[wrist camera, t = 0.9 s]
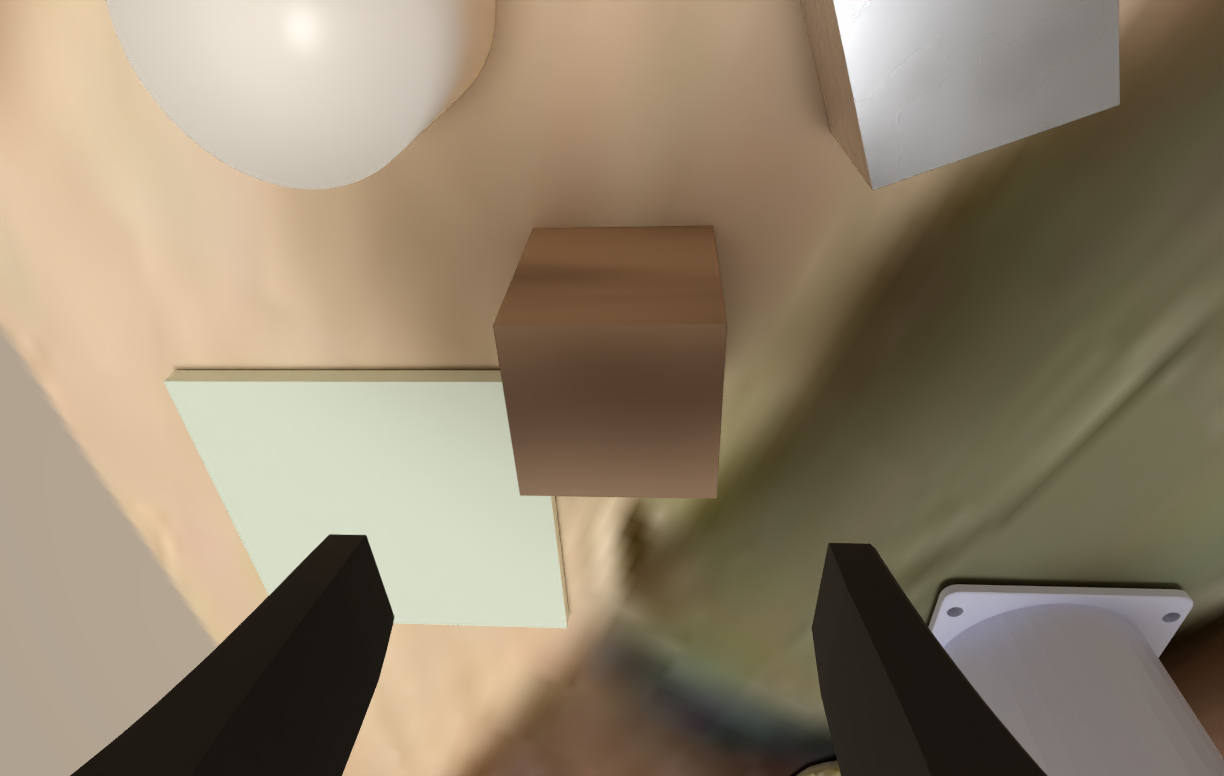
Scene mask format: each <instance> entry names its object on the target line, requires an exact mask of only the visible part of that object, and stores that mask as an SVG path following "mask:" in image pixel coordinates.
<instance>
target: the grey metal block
mask: <svg viewBox="0 0 1224 776" xmlns="http://www.w3.org/2000/svg"><path fill="white" fill-rule="evenodd" d="M800 1H801V6H802V10H803V14H804V19H805V23H806V27H807V32H808V36H809V40H810V45H811V49H812V53H813V58H814V62H815V66H816V71H817V75H818V80H819V84H820V88H821V93H822V97H823V101H824V106H825V110H826V114H827V119H828V123H829V127H830V132H831V133H832V135H833V136H834V137H835V139H836V140H837V142H838V143H839V144H840V146H841V147H842V149H843V150H844V151H845V153H846V154H847V155H848V157H849V158H850V160H851V161H852V162H853V164H854V165H855V167H856V168H857V169H858V171H859V172H860V173H861V175H862V176H863V178H864V179H865V180H866V182H867V183H868V184H869V186H870V187H871V189H872V190H875V189H878V188H881V187H884V186H887V185H890V184H893V183H895V182H898V181H901V180H904V179H907V178H910V177H913V176H916V175H918V174H921V173H924V172H927V171H930V170H933V169H936V168H939V167H941V166H944V165H947V164H950V163H953V162H956V161H959V160H962V159H965V158H967V157H970V156H973V155H976V154H979V153H982V152H985V151H988V150H990V149H993V148H996V147H999V146H1002V145H1005V144H1008V143H1011V142H1014V141H1016V140H1019V139H1022V138H1025V137H1028V136H1031V135H1034V134H1037V133H1039V132H1042V131H1045V130H1048V129H1051V128H1054V127H1057V126H1060V125H1062V124H1065V123H1068V122H1071V121H1074V120H1077V119H1080V118H1083V117H1086V116H1088V115H1091V114H1094V113H1097V112H1100V111H1103V110H1106V109H1109V108H1111V107H1114V106H1117V105H1120V85H1119V0H800Z"/></svg>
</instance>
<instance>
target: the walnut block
mask: <svg viewBox="0 0 1224 776" xmlns="http://www.w3.org/2000/svg"><path fill="white" fill-rule="evenodd" d="M493 328H494V335H495V341H496V347H497V353H498V360H499V366H500V372H501V379H502V385H503V391H504V398H505V404H506V410H507V417H508V423H509V429H510V435H511V442H512V448H513V454H514V461H515V467H516V473H517V480H518V486H519V492H520V496H583V497H649V498H716V499H717V483H718V466H719V450H720V433H721V416H722V399H723V382H724V366H725V349H726V332H727V321H726V314H725V307H724V300H723V293H722V286H721V279H720V272H719V265H718V258H717V251H716V244H715V237H714V230H713V226H658V227H595V228H533V230H532V232H531V235H530V237H529V240H528V242H527V245H526V247H525V249H524V252H523V254H522V257H521V259H520V261H519V264H518V266H517V269H516V271H515V274H514V276H513V278H512V281H511V283H510V286H509V288H508V290H507V293H506V295H505V298H504V300H503V303H502V305H501V307H500V310H499V312H498V315H497V317H496V319H495V322H494V324H493Z"/></svg>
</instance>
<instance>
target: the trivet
mask: <svg viewBox="0 0 1224 776" xmlns="http://www.w3.org/2000/svg"><path fill="white" fill-rule="evenodd" d="M164 383H165V385H166V387H167V389H168V391H169V394H170V396H171V398H172V400H173V402H174V404H175V406H176V408H177V410H178V412H179V414H180V416H181V418H182V420H183V422H184V424H185V426H186V428H187V430H188V432H189V434H190V436H191V438H192V440H193V442H194V444H195V446H196V448H197V450H198V452H199V454H200V457H201V459H202V461H203V463H204V465H205V467H206V469H207V471H208V473H209V475H210V477H211V479H212V481H213V483H214V485H215V487H216V489H217V491H218V493H219V495H220V497H221V499H222V501H223V503H224V505H225V507H226V509H227V511H228V513H229V515H230V518H231V520H232V522H233V524H234V526H235V528H236V530H237V532H238V534H239V536H240V538H241V540H242V542H243V544H244V546H245V548H246V550H247V552H248V554H249V556H250V558H251V560H252V562H253V564H254V566H255V568H256V570H257V572H258V574H259V576H260V578H261V581H262V583H263V585H264V587H265V589H266V591H267V593H268V595H270V594H271V593H272V592H273V591H274V590H275V589H276V588H277V587H278V586H279V585H280V584H281V583H282V582H283V581H284V580H285V579H286V578H287V577H288V576H289V575H290V574H291V573H292V571H293V570H294V569H295V568H296V567H297V566H298V565H299V564H300V563H301V562H302V561H303V560H304V559H305V558H306V557H307V556H308V555H309V554H310V553H311V552H312V551H313V550H314V549H315V548H316V547H317V546H318V545H319V544H320V543H321V542H322V541H323V540H324V539H325V538H326V537H327V536H328V535H329V534H341V535H366V536H367V538H368V541H369V544H370V547H371V550H372V553H373V556H374V559H375V562H376V564H377V567H378V570H379V573H380V576H381V579H382V582H383V585H384V588H385V591H386V593H387V596H388V599H389V602H390V605H391V608H392V611H393V614H394V617H395V618H394V622H393V623H400V624H435V625H470V626H505V627H540V628H567V627H568V619H569V610H568V601H567V593H566V584H565V576H564V568H563V559H562V551H561V543H560V534H559V526H558V517H557V509H556V501H555V496H520V492H519V486H518V480H517V473H516V467H515V461H514V454H513V448H512V442H511V435H510V429H509V423H508V417H507V410H506V404H505V398H504V391H503V385H502V379H501V372H500V370H175V371H174V372H173V373H172V374H171V375H170V376H169V377H168V378H167V379H166V380H165V381H164Z"/></svg>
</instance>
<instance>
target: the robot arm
mask: <svg viewBox="0 0 1224 776" xmlns="http://www.w3.org/2000/svg"><path fill="white" fill-rule="evenodd" d="M1193 604H1194V603H1193V600H1192V599H1191V598H1190V596H1189V595H1188V594H1187V593H1186V592H1185V591H1183V590H1177V589H1139V588H1096V587H1052V586H1008V585H964V584H956V585H950V586H948V587H946V588H944V589H943V590H942V591H941V593H940V595H939V598H938V601H937V604H936V607H935V610H934V612H933V615H932V618H931V621H930V624H929V627H928V626H927V625H926V623H925V622H924V620H923V619H922V618H921V616H920V615H919V613H918V612H917V610H916V609H915V608H914V606H913V605H912V603H911V602H910V600H909V599H908V598H907V596H906V595H905V593H904V592H903V590H902V589H901V587H900V586H899V584H898V583H897V581H896V580H895V578H894V577H893V575H892V574H891V572H890V571H889V569H888V568H887V566H886V564H885V563H884V561H883V560H882V558H881V557H880V555H879V554H878V552H877V550H876V549H875V548H874V547H873V546H872V545H871V544H853V543H828V549H827V554H826V559H825V564H824V569H823V574H822V579H821V584H820V589H819V595H818V600H817V605H816V610H815V615H814V620H813V625H812V632H813V640H814V648H815V655H816V663H817V670H818V677H819V684H820V691H821V696H822V701H823V705H824V709H825V713H826V717H827V721H828V725H829V729H830V733H831V737H832V741H833V745H834V750H835V754H836V757H837V761H838V765H839V769H840V773H841V776H1224V758H1223V757H1222V755H1221V754H1220V752H1219V750H1218V749H1217V747H1216V746H1215V744H1214V743H1213V741H1212V740H1211V738H1210V737H1209V735H1208V734H1207V732H1206V731H1205V729H1204V727H1203V726H1202V724H1201V723H1200V721H1199V720H1198V718H1197V717H1196V715H1195V714H1194V712H1193V711H1192V709H1191V708H1190V706H1189V704H1188V703H1187V701H1186V700H1185V698H1184V697H1183V695H1182V694H1181V692H1180V691H1179V689H1178V688H1177V686H1176V685H1175V683H1174V681H1173V680H1172V678H1171V677H1170V675H1169V674H1168V672H1167V671H1166V669H1165V668H1164V666H1163V665H1162V663H1161V662H1160V660H1159V659H1158V658H1159V656H1160V655H1161V653H1162V652H1163V651H1164V649H1165V648H1166V646H1167V645H1168V643H1169V642H1170V640H1171V639H1172V637H1173V636H1174V634H1175V633H1176V631H1177V630H1178V628H1179V627H1180V625H1181V624H1182V622H1183V621H1184V619H1185V618H1186V616H1187V615H1188V613H1189V612H1190V610H1191V609H1192V607H1193ZM394 618H395V617H394V614H393V611H392V608H391V605H390V602H389V599H388V596H387V593H386V591H385V588H384V585H383V582H382V579H381V576H380V573H379V570H378V567H377V564H376V562H375V559H374V556H373V553H372V550H371V547H370V544H369V541H368V538H367V536H366V535H341V534H329V535H328V536H327V537H326V538H325V539H324V540H323V541H322V542H321V543H320V544H319V545H318V546H317V547H316V548H315V549H314V550H313V551H312V552H311V553H310V554H309V555H308V556H307V557H306V558H305V559H304V560H303V561H302V562H301V563H300V564H299V565H298V566H297V567H296V568H295V569H294V570H293V571H292V573H291V574H290V575H289V576H288V577H287V578H286V579H285V580H284V581H283V582H282V583H281V584H280V585H279V586H278V587H277V588H276V589H275V590H274V591H273V592H272V593H271V594H270V595H269V596H268V597H267V598H266V599H265V600H264V601H263V602H262V603H261V604H260V605H259V606H258V607H257V608H256V609H255V610H254V611H253V612H252V613H251V614H250V615H249V616H248V617H247V618H246V619H245V620H244V621H243V622H242V623H241V624H240V625H239V626H238V627H237V628H236V629H235V630H234V631H233V632H232V633H231V634H230V635H229V636H228V637H227V638H226V639H225V640H224V641H223V642H222V643H221V644H220V645H219V646H218V647H217V648H216V649H215V650H214V651H213V652H212V653H211V654H210V655H209V656H208V657H207V658H205V659H204V660H203V661H202V662H201V663H200V664H199V665H198V666H197V667H196V668H195V669H194V670H193V671H191V673H189V674H188V675H187V676H186V677H185V678H184V679H183V680H182V681H181V682H179V684H177V685H176V686H175V687H174V688H173V689H172V690H171V691H170V692H169V693H168V694H167V695H165V697H163V698H162V699H161V700H160V701H159V702H158V703H157V704H156V705H154V706H153V707H152V708H151V709H150V710H149V711H148V712H147V713H145V714H144V715H143V716H142V717H141V718H140V719H138V720H137V721H136V722H135V723H134V724H133V725H132V726H131V727H129V728H128V729H127V730H126V731H124V732H123V733H122V734H121V735H120V736H119V737H118V738H116V739H115V740H114V741H113V742H111V743H110V744H109V745H108V746H106V747H105V748H104V749H103V750H101V751H100V752H99V753H98V754H97V755H95V756H94V757H93V758H92V759H90V760H89V761H88V762H87V763H86V764H84V765H83V766H82V767H80V768H79V769H78V770H77V771H76V772H74V773H73V774H72V775H71V776H342V774H343V771H344V769H345V766H346V764H347V761H348V758H349V756H350V753H351V751H352V748H353V746H354V743H355V741H356V738H357V735H358V733H359V730H360V728H361V725H362V722H363V720H364V717H365V715H366V712H367V709H368V707H369V704H370V702H371V699H372V696H373V694H374V691H375V688H376V686H377V683H378V680H379V677H380V673H381V669H382V665H383V662H384V658H385V654H386V651H387V646H388V642H389V638H390V634H391V630H392V626H393V622H394Z"/></svg>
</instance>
